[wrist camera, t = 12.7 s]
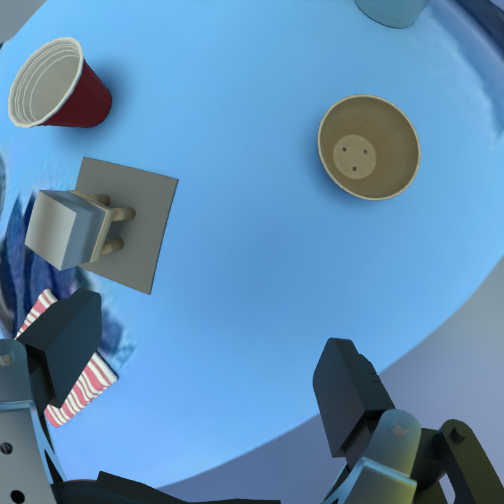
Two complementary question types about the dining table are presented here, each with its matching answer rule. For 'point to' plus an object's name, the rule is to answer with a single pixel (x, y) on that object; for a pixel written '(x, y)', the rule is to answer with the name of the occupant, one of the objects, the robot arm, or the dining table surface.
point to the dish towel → (88, 383)
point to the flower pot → (368, 147)
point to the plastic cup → (58, 89)
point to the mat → (130, 231)
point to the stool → (73, 227)
